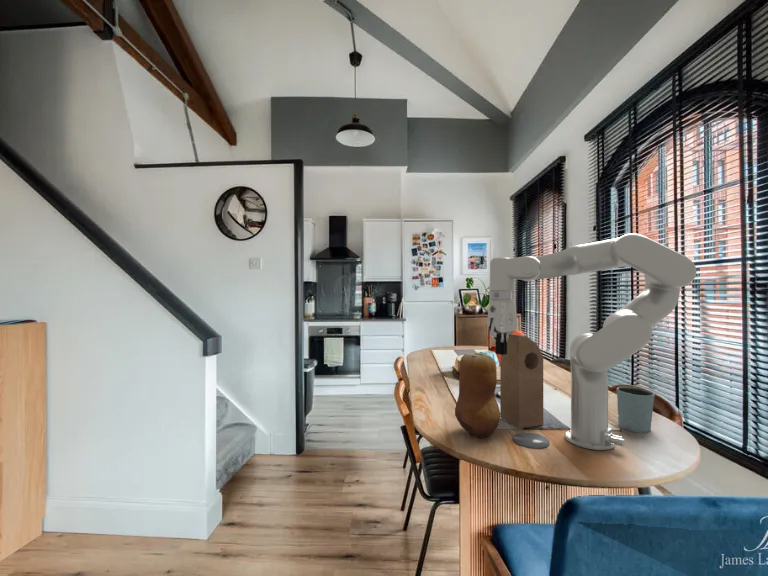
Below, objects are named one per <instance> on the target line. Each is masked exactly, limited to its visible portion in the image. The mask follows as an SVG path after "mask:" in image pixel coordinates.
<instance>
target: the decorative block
mask: <svg viewBox="0 0 768 576" xmlns="http://www.w3.org/2000/svg"><path fill="white" fill-rule="evenodd" d="M499 355H500V354H499ZM499 358H500V359H499V360H500V361H499V363H500V366H499V368H500V369H499V371H500V375H499V376H500V377H499V378H500V379H499V380H500V381H499V383H500V385H499V386H500V387H499V389H500V394H499V396H500V397H499V398H500V400H499V403H500V406H499V410H500V420H503V421H504V420H505V422H506V421H507V422H506V423H508V424H510V425H511V424H512V425H511V426H513V425H514V426H513V427H515V428H517V429H525V427H526V428H533V426H534V427H539V425H541V426H544V355H543V354H542V351H541V350H540V348H539V345H538V344H537V342H535V341H534V340H532V339H531V338H529V337H528V336H527V335H521V334H517V333H512V334H511V335H509V337H508V342H507V354H506V355H500V357H499Z"/></svg>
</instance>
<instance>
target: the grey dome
mask: <svg viewBox="0 0 768 576" xmlns="http://www.w3.org/2000/svg"><path fill="white" fill-rule="evenodd" d="M512 440H513V442H514V443H515V444H517V445H519V446H521V447H524V448H525V447H526V448H530V449H546V448H548V447H549V446H550V445H551V444H550V440H549V439H548V438H547V437H546V436H545V435H542V434H540V433H535V432H527V431H523V432H522V431H521V432H516V433H514V434H513V436H512Z"/></svg>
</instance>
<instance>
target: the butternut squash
mask: <svg viewBox="0 0 768 576" xmlns="http://www.w3.org/2000/svg"><path fill="white" fill-rule="evenodd" d="M497 374H498V373H497V362H496V361H495V359H494V358H493V357H492V356H490V355H488V354H487V353H483V352H466V353H464V354H463V355H462V356H461V358H460V361H459V376H458V377H459V380H458V381H459V382H458V384H459V385H458V397H457V401H456V403H455V408H454V416H455V419H456V420H457V421H458V423H459V425H460V426H461V427H462V429H463V430H465V431H466V432H468V433H469V434H471V436H473V437H476V438H482V437H487V436H488V437H489V436H490V435H491V434H493V433H494V431H495V430H496V429H497V428H498V426H499V425H500V421H501V418H500V406H499V403H498V401H497V398H496V396H495V393H496V387H497V382H498V377H497V376H498V375H497Z"/></svg>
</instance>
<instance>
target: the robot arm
mask: <svg viewBox="0 0 768 576" xmlns="http://www.w3.org/2000/svg"><path fill="white" fill-rule="evenodd" d="M628 266H629V267H631V268H633V269H634V270H636V271H638V272H640V273H642V274H643V275H644V282H645V283H644V284H645V285H644V288H643V290H642V291H641V293H640V294H638V295H637V296H635V298H633V299H632V300H631V301H629V302H628V303H627V304H625V305H623V306H622V307H621V308H619V309H617V310H616V311H615V312H613V313H612V314H609V316H608V317H606V319H605V320H604V321H603V325H602V328H600V329H599V330H597V331H596V332H595V333H589V332H588V333H587V332H586V333H581V334H579V335H577V336H576V337H574V339H572V341H571V343H570V346H569V360H570V361H569V363H570V430H567V431H566V432H565V433H564V434H565V435H564V437H565V439H566V440H567V441H568V442H569V443H570V444H573V445H574V446H577V447H581V448H584V449H588V450H595V451H607V450H608V451H609V450H612V449H614V448H615V445H616V446H619V447H625V443H626V442H625V441H626V440H625V439H624V438H623V436H620V435H616V434H614V433H613V429H612V428H610V427H609V372H608V371H609V370H611V369H613V368H615V367H616V366H618V365H619V364H620V363H622V362H624V361H626V360H627V359H628V358H630V357H632V356H633V355H634V354H636V353H638V352H639V351H640V350H642V349H643V348H644V347H645V346H646V345H648V344H649V342H650V340H651V339H652V336H653V327H655V326H656V325H657V324H658V323H660V322H661V321H662V320H664V319H665V318H667V317H668V316H669V315H670V314H671V313H672V312H673V311H674V309H675V308H676V306H677V305H678V303H679V299H680V294H681V288H683V287H687V286H688V285H690V284H691V283H692V282H693V281H694V280H695V279H696V275H697V267H696V265H695V262H693V261H692V259H690V258H689V257H688V256H686V255H684V254H682V253H680V252H677V251H675V250H674V249H672V248H670V247H667V246H665V245H664V244H662V243H660V242H657V241H655V240H653V239H652V238H649V237H647V236H645V235H643V234H639V233H636V232H635V233H633V232H632V233H625V234H624V235H621V236H620V237H615V238H611V239H610V238H609V239H604V240H600V241H595V242H589V243H584V244H577V245H573V246H570V247H568V248H566V249H562V250H560V251H557V252H553V253H549V254H544V255H540V256H531V255H526V256H525V255H524V256H519V257H517V256H516V257H503V256H502V257H500V256H499V257H493V258H492V259H490V261H489V302H488V310H487V311H488V312H487V330H488V332H490V333H489V336H490V337H492V338H493V340H494V342H495V345H494V346H495V353H494V354H496V355H506V354H507V342H508V337H509V335H511V334H513V333H514V332H516V331H517V329H518V319H517V318H518V317H517V305H516V301H515V282H516V281H515V280H521V281H524V282H531V281H532V282H533V281H538V280H542V279H549V278H555V277H561V276H576V275H581V274H588V273H593V272H600V271H605V270H612V269H618V268H624V267H625V268H626V267H628Z"/></svg>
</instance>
